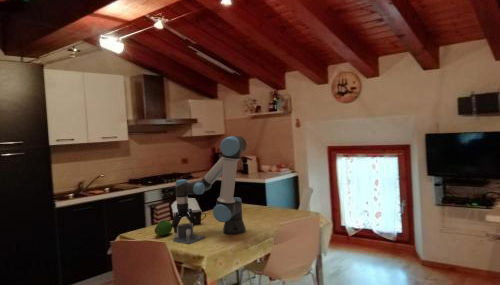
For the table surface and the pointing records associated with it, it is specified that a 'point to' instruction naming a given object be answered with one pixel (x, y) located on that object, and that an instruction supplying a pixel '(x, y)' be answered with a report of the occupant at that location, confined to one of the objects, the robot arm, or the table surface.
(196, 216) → the coffee mug
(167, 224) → the fruit
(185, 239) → the grey peg base
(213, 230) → the table surface
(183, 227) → the grey block
